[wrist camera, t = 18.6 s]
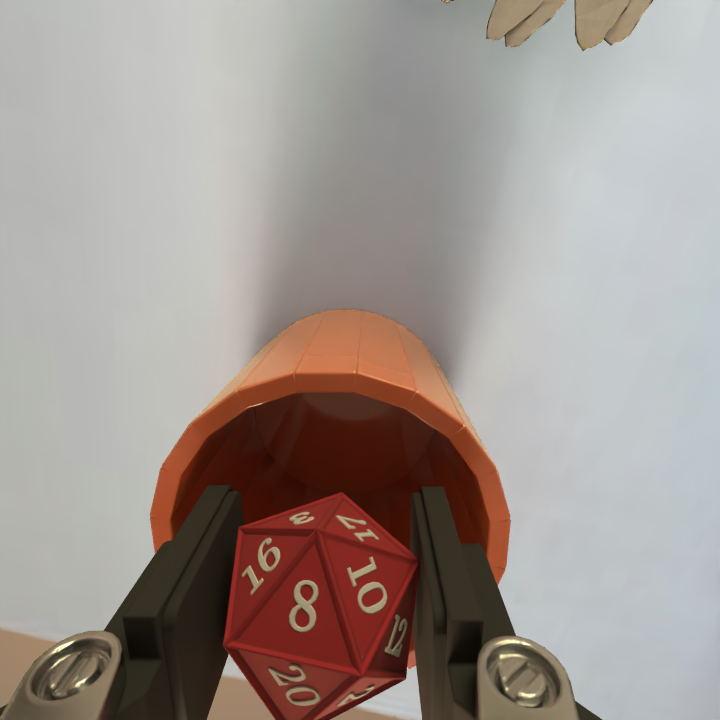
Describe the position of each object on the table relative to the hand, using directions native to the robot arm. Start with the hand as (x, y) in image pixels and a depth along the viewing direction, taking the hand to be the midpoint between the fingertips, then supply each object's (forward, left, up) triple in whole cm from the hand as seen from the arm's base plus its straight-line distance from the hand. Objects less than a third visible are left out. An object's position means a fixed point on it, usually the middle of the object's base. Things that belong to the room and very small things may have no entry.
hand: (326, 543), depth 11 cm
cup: (0, 0, -9) cm, 9 cm away
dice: (0, 0, 0) cm, 0 cm away
